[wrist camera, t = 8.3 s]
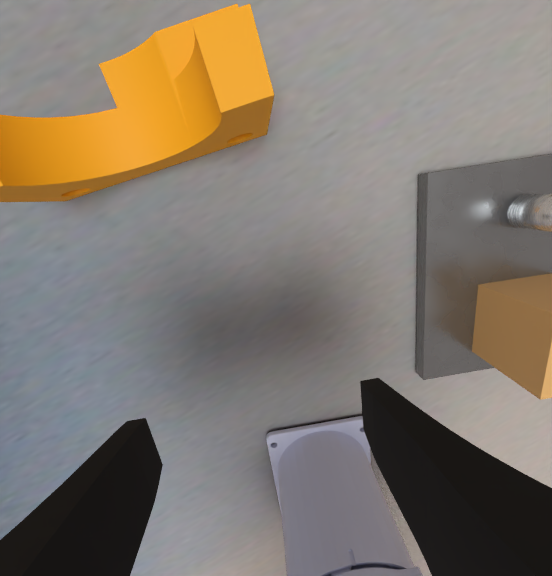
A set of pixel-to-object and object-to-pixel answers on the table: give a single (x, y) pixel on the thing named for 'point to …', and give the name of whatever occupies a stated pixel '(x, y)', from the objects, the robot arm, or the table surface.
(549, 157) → the plate
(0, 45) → the table surface
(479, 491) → the robot arm
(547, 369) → the light orange cube
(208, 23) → the pipe clamp
